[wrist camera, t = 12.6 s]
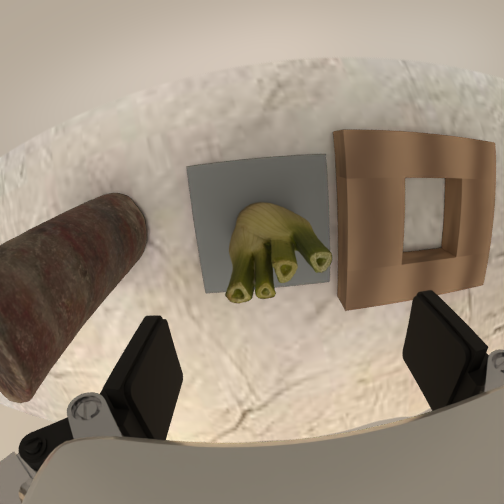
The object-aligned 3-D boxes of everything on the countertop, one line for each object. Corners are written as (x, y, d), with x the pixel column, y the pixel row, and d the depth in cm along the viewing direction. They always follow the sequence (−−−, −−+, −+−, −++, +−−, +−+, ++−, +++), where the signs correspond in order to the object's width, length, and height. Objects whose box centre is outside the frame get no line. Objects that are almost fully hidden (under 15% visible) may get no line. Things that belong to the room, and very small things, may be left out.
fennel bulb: (300, 201, 25) (340, 242, 14) (294, 254, 27) (324, 328, 15) (233, 196, 25) (219, 235, 14) (231, 251, 27) (217, 324, 15)
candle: (167, 244, 27) (49, 402, 8) (114, 278, 28) (-1, 418, 9) (124, 177, 25) (-59, 242, 6) (74, 218, 26) (-78, 310, 7)
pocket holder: (478, 141, 23) (495, 142, 20) (469, 274, 28) (483, 284, 26) (333, 131, 24) (343, 129, 21) (337, 295, 29) (345, 310, 26)
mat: (324, 153, 24) (325, 154, 24) (328, 279, 28) (329, 281, 28) (187, 166, 25) (186, 166, 24) (206, 290, 29) (205, 293, 28)
